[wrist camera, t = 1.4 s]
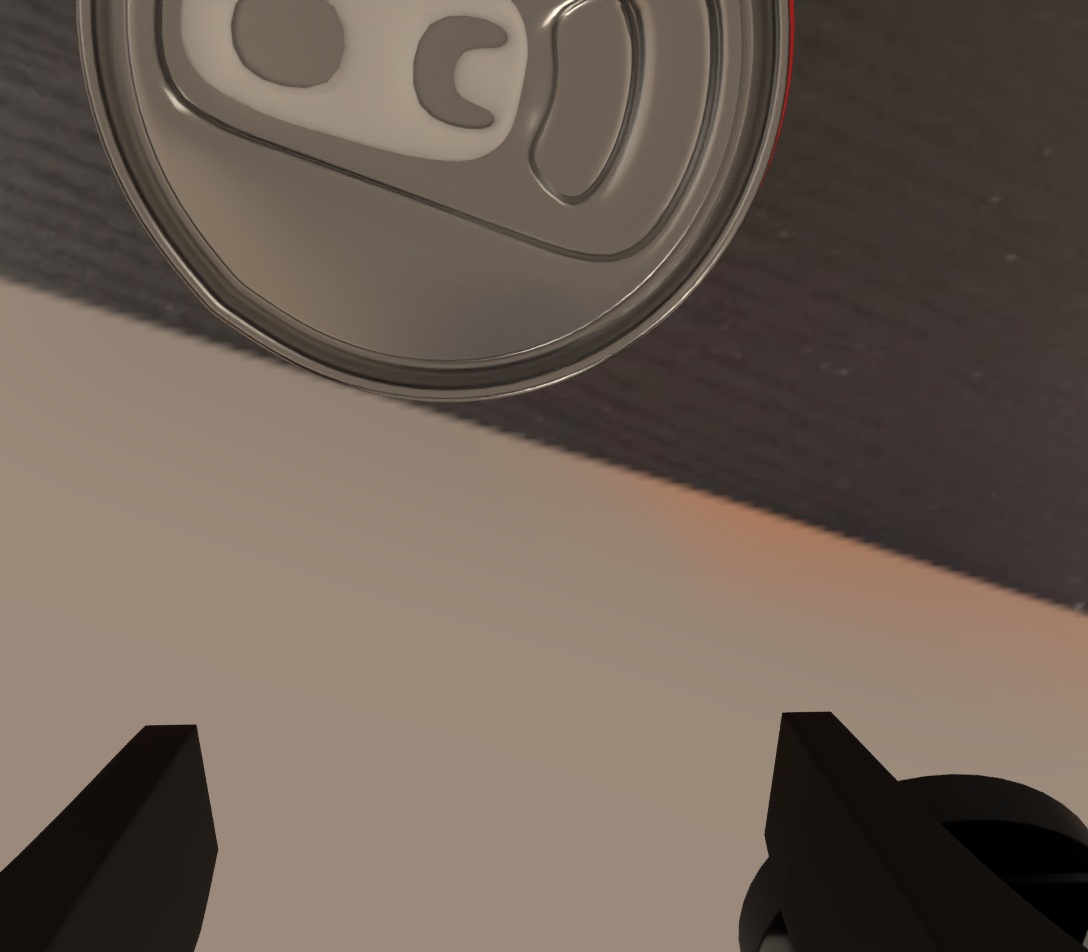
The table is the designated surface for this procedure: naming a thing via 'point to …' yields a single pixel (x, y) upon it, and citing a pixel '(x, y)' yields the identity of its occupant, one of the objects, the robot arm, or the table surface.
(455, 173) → the beverage can
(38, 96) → the table surface
